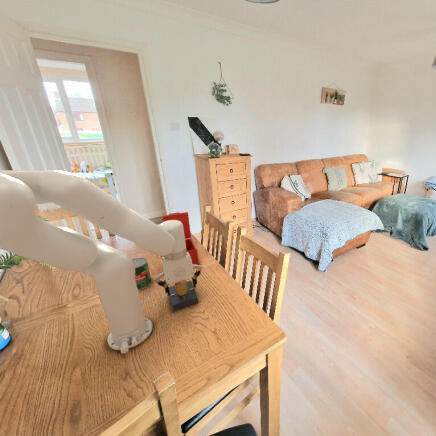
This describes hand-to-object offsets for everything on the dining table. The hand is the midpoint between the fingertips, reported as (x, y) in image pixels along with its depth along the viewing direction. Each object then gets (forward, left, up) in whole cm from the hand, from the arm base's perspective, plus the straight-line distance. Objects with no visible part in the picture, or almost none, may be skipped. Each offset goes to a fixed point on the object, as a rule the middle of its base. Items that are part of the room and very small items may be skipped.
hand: (181, 289), depth 95 cm
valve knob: (0, 0, -1) cm, 1 cm away
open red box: (+28, -5, -4) cm, 29 cm away
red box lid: (+34, -5, +12) cm, 37 cm away
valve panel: (0, 0, -4) cm, 4 cm away
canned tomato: (+18, +14, -4) cm, 23 cm away
